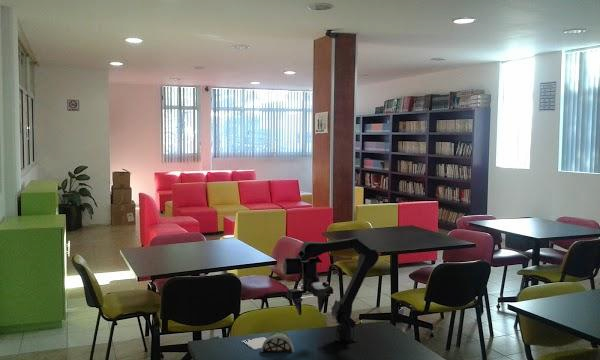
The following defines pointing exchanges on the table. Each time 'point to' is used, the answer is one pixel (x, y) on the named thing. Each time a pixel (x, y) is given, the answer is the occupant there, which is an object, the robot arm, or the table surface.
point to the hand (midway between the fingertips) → (310, 313)
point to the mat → (255, 343)
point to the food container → (278, 343)
